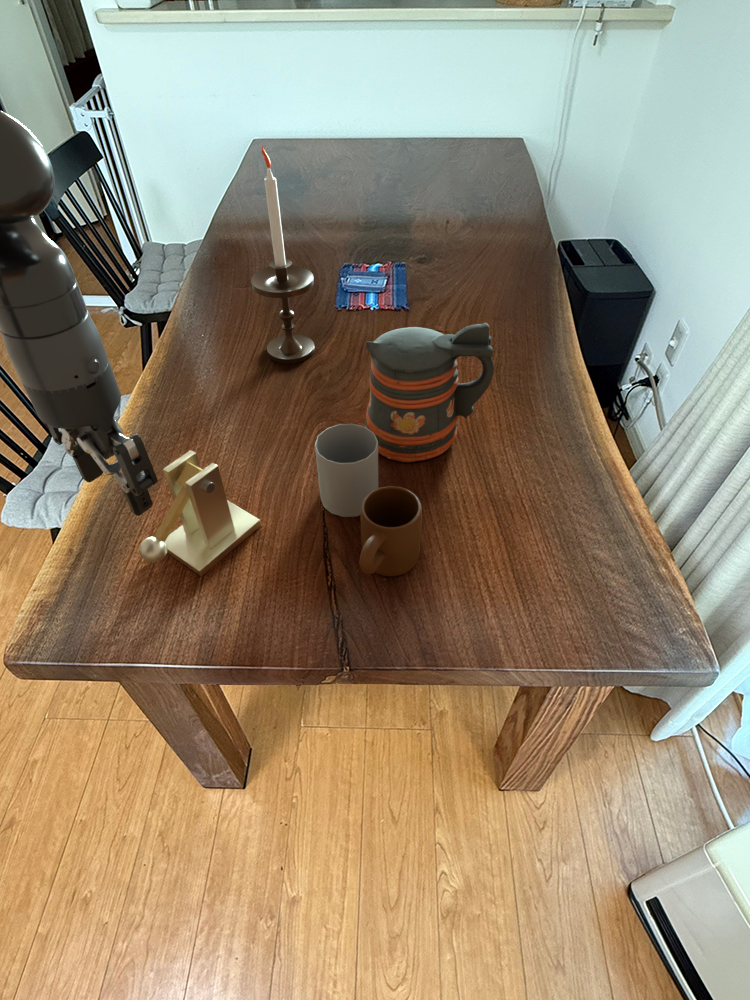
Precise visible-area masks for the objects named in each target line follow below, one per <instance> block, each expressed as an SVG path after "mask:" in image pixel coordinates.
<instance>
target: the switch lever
mask: <svg viewBox="0 0 750 1000" xmlns="http://www.w3.org/2000/svg"><path fill="white" fill-rule="evenodd" d="M203 469H204V468H201V467H200V468H199V467H197V466H195V465H193V464H191V463H187V464H186V466H185V468H184V469H183V471H182V473H181V475H180V476H179V478H178V480H177V483H179V484H180V485H182V488H181V490H180V491H179V493H178V495H177V497H176V498H175V500H174V499H173V502H172V503H171V506H170V508H169V509H168V511H167V513H166V514H165V516H164V518H163V520H162V522H161V523H160V525H159V526H158V528H157V530H156V532H155V534H154V535H153V536H152V535H151V536H148V537H146V538H144V539H143V541H141V543H140V546H139V554H140V556H141V558H142V559H143V560H144V561H146V562H148V563H158V562H160V561H162V560H163V559H164V558H165V557H166V556H167V554H168V553H167V544H166V543H165V541H166V539H167V537H168V535H170V534H171V533H172V531H173V528H174V527H175V525H176V523H177V521H178V520H179V519H180V514H181V512H182V511H183V509H184V507H185V505H186V504H187V502H188V500H189V498H190V496H189V493H188V490H187V487H186V484H185V482H187V481H188V480H189V479H191V478H192V477H194V476H195V475H196V474H198V473H199V472H200V471H202V470H203Z"/></svg>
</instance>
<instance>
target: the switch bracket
mask: <svg viewBox="0 0 750 1000" xmlns="http://www.w3.org/2000/svg"><path fill="white" fill-rule="evenodd" d="M187 463H191V464H193V465H195V466H197V467H199V468H201V466H200V462H199V458H198V455H197V453H196V452H195V451H194V450H192V449H190V450H188V451H187V452H186V453H184V454H183V455H181V456H180V457H178V458H176V459H175V460H173V462H171V463H170V464H168V465H167V466H165V467H164V468H163V469H162V471H163V475H164V476H165V480H166V481H167V484H168V488H169V490H170V493H171V497H172V499H173V501H174V500H175V498H176V497H177V495H178V493H179V491H180V490H181V488H182V485H180V484H179V483H177V480H178V478H179V476H180V475H181V473H182V471H183V469H184V468H185V466H186V464H187ZM202 469H203V470H202V471H200V472H199V473H198V474H196V475H195V476H194V477H192V478H191V479H189V480H188V481H187V482H185V484H186V487H187V490H188V493H189V496H190V498H189V500H188V502H187V504H186V505H185V507H184V509H183V511H182V512H181V514H180V516H179V519H180V521H181V525H180V526H178V527H177V528H176V529H175V530H173V531H171V532H170V534H169V535H168V537H167V539H166V541H165V543H166V544H167V554H168V555H169V556H171V557H172V558H173V559H175V560H176V561H178V562H180V563H181V565H184V566H185V567H187V568H188V569H189V570H191V571H192V572H194V573H195V574H197V575H198V576H199V577H202V576H204V574H206V573H207V572H209V571H210V570H211V569H212V568H213V567H214V566H216V565H217V564H218V563H219V562H220V561H222V560H223V559H224V558H225V557H227V556H228V554H230V553H231V552H232V551H233V550H235V549H236V548H237V547H238V546H240V544H241V543H243V542H244V541H245V540H246V539H247V538H249V537H250V536H252V534H254V532H255V531H257V530H258V529H259V528H260V527H262V523H261V519H259V518H258V517H256V516H254V515H253V514H251V513H250V512H248V511H246V510H244V509H242V508H241V507H239V506H237V505H236V504H234V503H232V502H231V501H229V500H228V498H227V494H226V490H225V487H224V483H223V479H222V474H221V472H220V467H219V465H218V464H216V463H214V462H211V463H210V464H209V465H207V466H206V467H205V468H202Z"/></svg>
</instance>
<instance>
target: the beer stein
mask: <svg viewBox="0 0 750 1000" xmlns="http://www.w3.org/2000/svg"><path fill="white" fill-rule="evenodd" d="M491 343H492V335H490V326H489V324H488V323H487V322H484V323H477V324H471V325H467V326H465V327H463V328H462V329H460V330H459V331H457V332H456V333H455V334H451V333H448V334H444V333H442V332H439V331H437V330H435V329H431V328H427V327H420V326H410V327H399V328H396V329H392V330H389V331H387V332H385V333H382V334H381V335H379V336H378V337H377V338H376V339H375V340H374V341H370V340H368V341H366V342H365V348H366V350H367V351H368V352H369V355H370V357H371V359H370V361H371V363H370V371H369V372H370V373H369V380H368V382H369V383H368V385H369V389H370V393H369V401H368V404H367V407H366V413H365V426H364V427H366V428H367V429H369V430H370V431H372V432H373V433H374V434H375V436H376V438H377V441H378V454H380V455H382V457H384V458H386V459H388V460H393V461H395V462H400V463H414V462H420V461H426V460H430V459H432V458H433V459H434V458H436V457H439V456H440V455H442V454H443V453H445V452H446V451H447V450H449V448H451V447H452V445H453V443H454V442H455V440H456V439H457V435H458V423H459V416H460V417H464V418H465V419H467V418H468V417H469V416H471V414H473V413H474V410H475V409H474V405H475V404H476V403H477V402H478V401H479V400H480V399H481V397H482V396H483V395H484V394H485V392H486V391H487V390H488V388H490V385H491V383H492V380H493V377H494V373H495V366H494V365H495V364H494V360H493V356H494V355H493V354H494V348H493V347H492V346H491ZM460 357H475V358H477V359H478V360H479V361H480V362H481V365H482V370H481V373H480V375H479V376H478V377H477V378H476V379H475V380H472V381H469V382H463V383H462V382H461V383H460V382H459V370H458V358H460Z"/></svg>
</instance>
